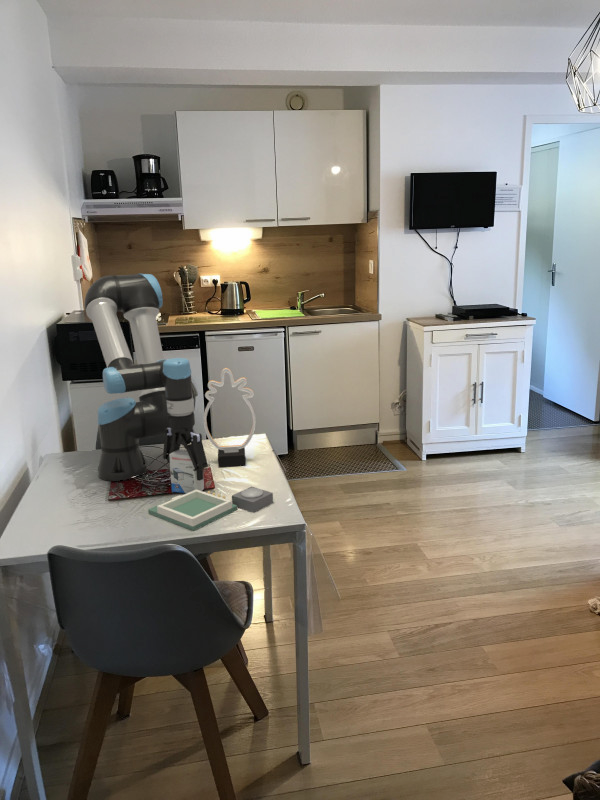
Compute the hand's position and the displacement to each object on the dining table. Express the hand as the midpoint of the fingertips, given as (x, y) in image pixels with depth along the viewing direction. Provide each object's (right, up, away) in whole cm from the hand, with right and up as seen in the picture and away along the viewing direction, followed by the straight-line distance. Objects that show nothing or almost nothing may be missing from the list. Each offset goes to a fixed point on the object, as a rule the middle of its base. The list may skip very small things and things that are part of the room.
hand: (187, 486), depth 190 cm
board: (+4, -5, -14) cm, 15 cm away
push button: (+20, -4, -10) cm, 23 cm away
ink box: (0, -1, +1) cm, 2 cm away
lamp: (+11, +5, +23) cm, 26 cm away
